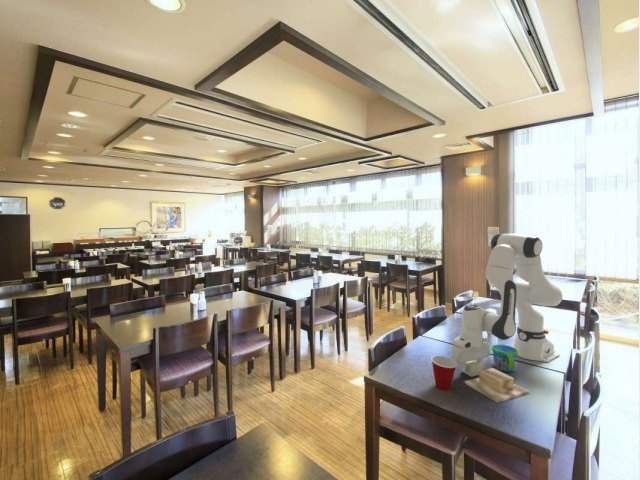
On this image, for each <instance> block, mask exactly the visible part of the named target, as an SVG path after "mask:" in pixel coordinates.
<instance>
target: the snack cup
mask: <svg viewBox="0 0 640 480" xmlns="http://www.w3.org/2000/svg"><path fill="white" fill-rule="evenodd" d="M491 350H492V353H493V354H492V355H493V356H492V357H493V362H494V367H495V369H496V370H498V371H500V372H503V373H504V372H505V373H511V372H513V371H514V369H515V363H516V358H517V356H518V355H517V354H518V352H517V350H516V349H515V348H513V346H510V345H504V344H494V345H492V346H491Z"/></svg>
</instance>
